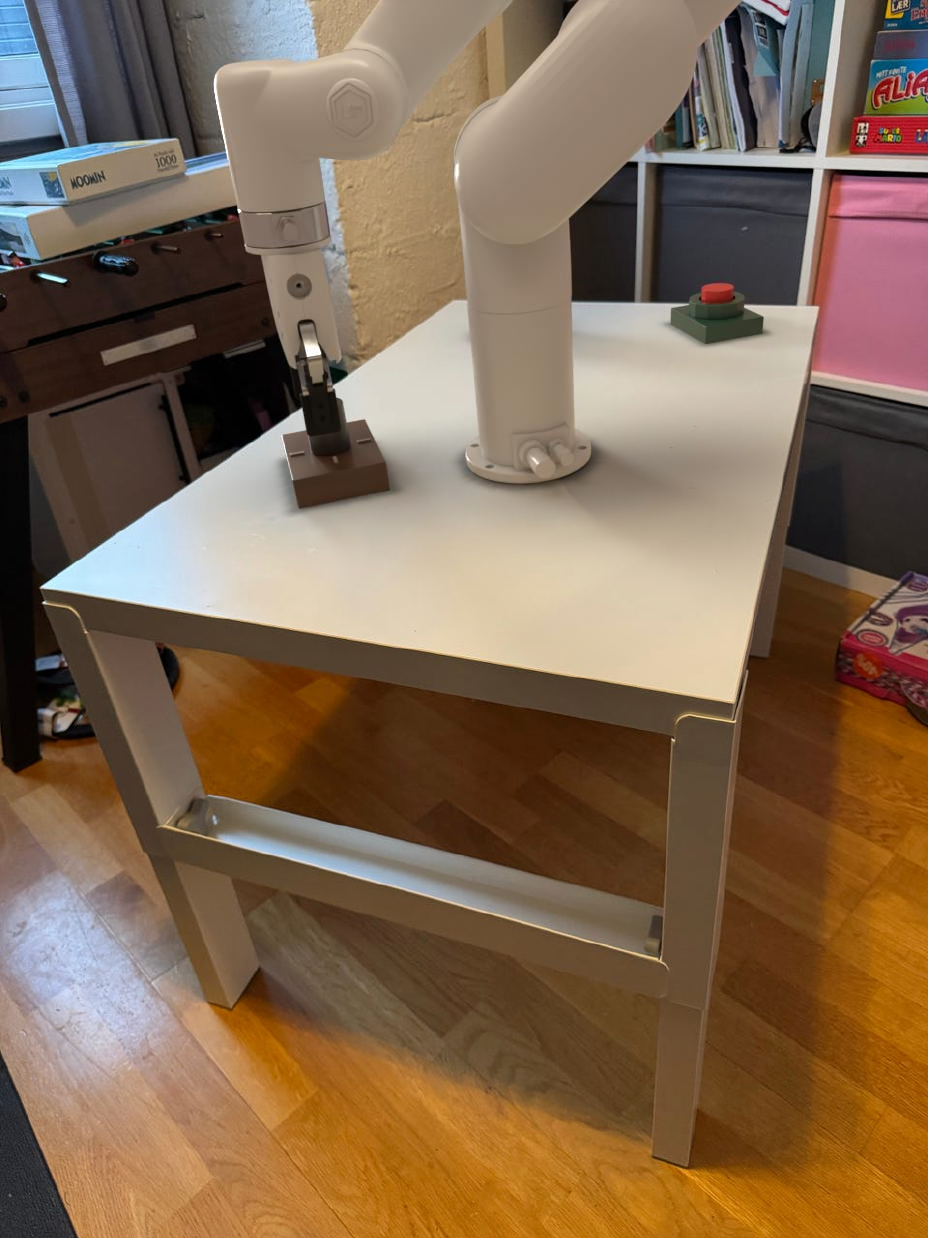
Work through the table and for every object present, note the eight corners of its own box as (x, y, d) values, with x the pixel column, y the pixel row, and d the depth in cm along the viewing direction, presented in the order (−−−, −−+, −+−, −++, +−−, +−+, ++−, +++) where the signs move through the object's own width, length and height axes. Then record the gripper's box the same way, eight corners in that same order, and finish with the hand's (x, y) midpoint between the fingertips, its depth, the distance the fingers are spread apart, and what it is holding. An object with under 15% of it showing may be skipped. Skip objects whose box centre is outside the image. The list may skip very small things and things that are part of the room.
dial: (353, 450, 87) (345, 404, 84) (313, 458, 86) (303, 412, 84) (347, 436, 90) (339, 390, 87) (308, 443, 89) (299, 398, 87)
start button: (738, 302, 113) (739, 287, 112) (710, 307, 112) (710, 293, 111) (723, 294, 116) (724, 281, 115) (695, 299, 116) (696, 286, 115)
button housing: (762, 333, 113) (765, 301, 111) (705, 344, 112) (707, 312, 109) (723, 314, 121) (725, 284, 119) (670, 324, 120) (671, 294, 118)
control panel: (390, 490, 86) (385, 460, 84) (298, 508, 84) (291, 478, 83) (369, 444, 95) (364, 417, 94) (286, 460, 94) (280, 433, 92)
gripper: (343, 240, 70) (370, 441, 80) (316, 206, 84) (342, 381, 94) (248, 252, 69) (288, 455, 79) (237, 216, 83) (272, 392, 93)
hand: (317, 414), depth 86 cm, fingers open, 9 cm apart
